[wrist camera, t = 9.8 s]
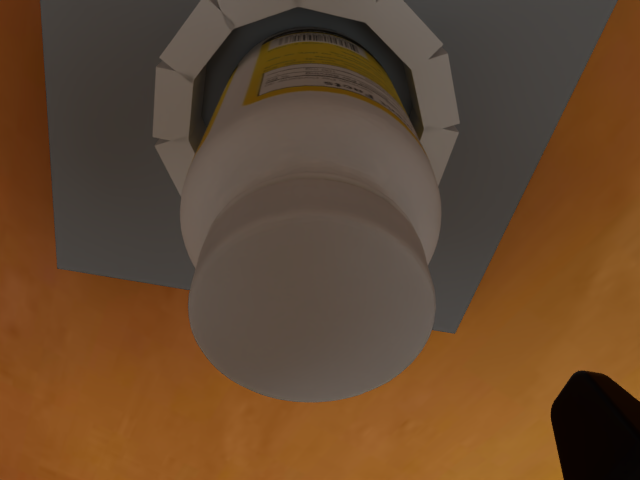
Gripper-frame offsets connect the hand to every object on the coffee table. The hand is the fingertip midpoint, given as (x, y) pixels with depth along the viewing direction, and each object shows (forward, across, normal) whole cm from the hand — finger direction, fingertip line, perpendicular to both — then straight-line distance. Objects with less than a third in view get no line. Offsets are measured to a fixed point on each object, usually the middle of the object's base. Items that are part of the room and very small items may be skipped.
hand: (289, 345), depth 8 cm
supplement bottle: (+11, 0, 0) cm, 11 cm away
